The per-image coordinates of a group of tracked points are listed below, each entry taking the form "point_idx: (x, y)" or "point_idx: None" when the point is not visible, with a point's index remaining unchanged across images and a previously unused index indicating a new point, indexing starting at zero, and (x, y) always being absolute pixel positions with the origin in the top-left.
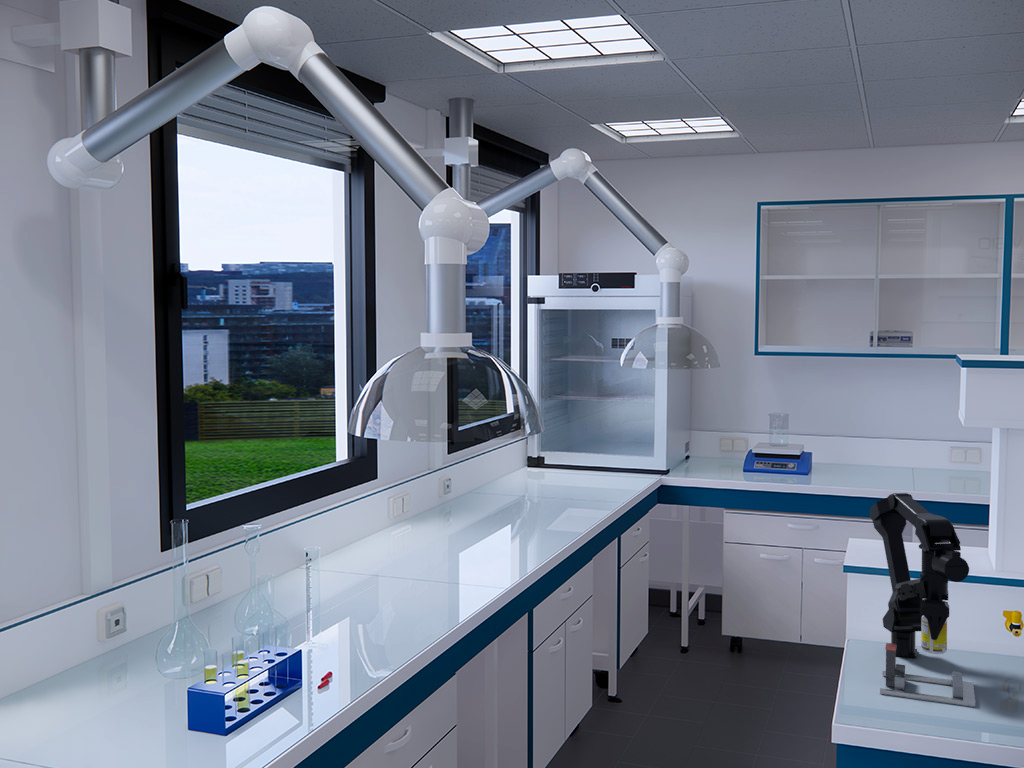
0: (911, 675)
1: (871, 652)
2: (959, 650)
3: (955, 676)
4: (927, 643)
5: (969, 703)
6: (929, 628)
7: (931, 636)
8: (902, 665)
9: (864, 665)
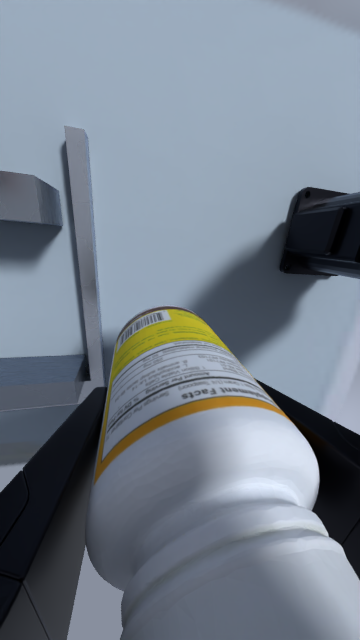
0: (82, 249)
1: (326, 122)
2: (337, 359)
3: (21, 392)
4: (119, 347)
5: None
6: (38, 452)
7: (84, 401)
8: (27, 208)
9: (180, 60)
